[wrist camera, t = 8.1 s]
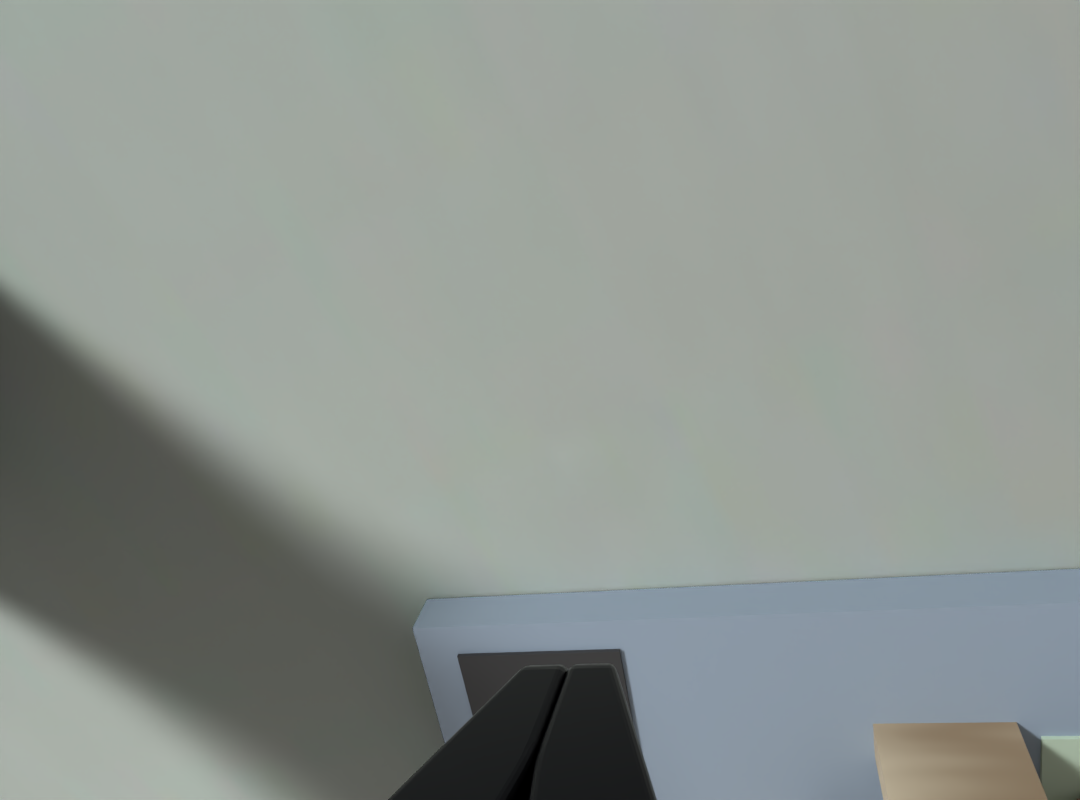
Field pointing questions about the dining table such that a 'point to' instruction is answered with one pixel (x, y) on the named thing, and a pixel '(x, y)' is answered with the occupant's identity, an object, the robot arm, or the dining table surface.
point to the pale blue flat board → (787, 671)
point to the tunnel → (955, 762)
